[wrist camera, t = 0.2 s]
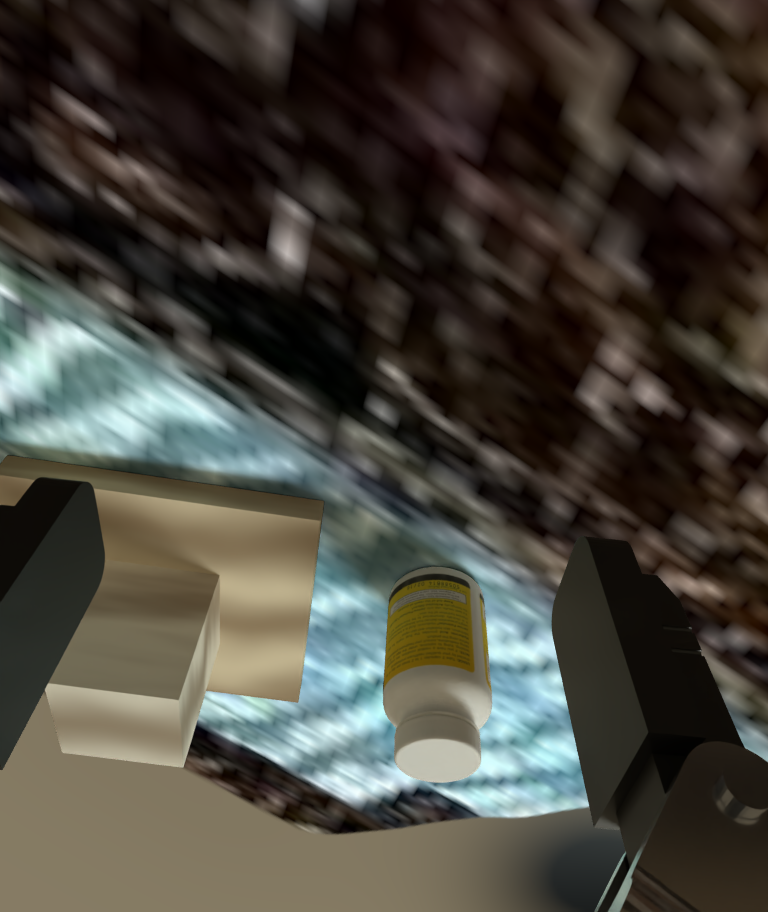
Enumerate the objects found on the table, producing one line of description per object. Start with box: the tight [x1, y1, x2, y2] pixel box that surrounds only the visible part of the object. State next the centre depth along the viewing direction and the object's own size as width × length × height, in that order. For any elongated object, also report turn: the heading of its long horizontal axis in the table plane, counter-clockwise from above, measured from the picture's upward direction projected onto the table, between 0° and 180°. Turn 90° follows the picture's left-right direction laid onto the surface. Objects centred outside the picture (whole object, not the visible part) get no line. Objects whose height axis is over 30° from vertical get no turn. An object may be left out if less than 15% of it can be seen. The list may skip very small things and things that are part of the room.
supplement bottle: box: [383, 567, 492, 782], centre depth 35 cm, size 5×5×10 cm
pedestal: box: [0, 455, 324, 767], centre depth 35 cm, size 16×16×9 cm
